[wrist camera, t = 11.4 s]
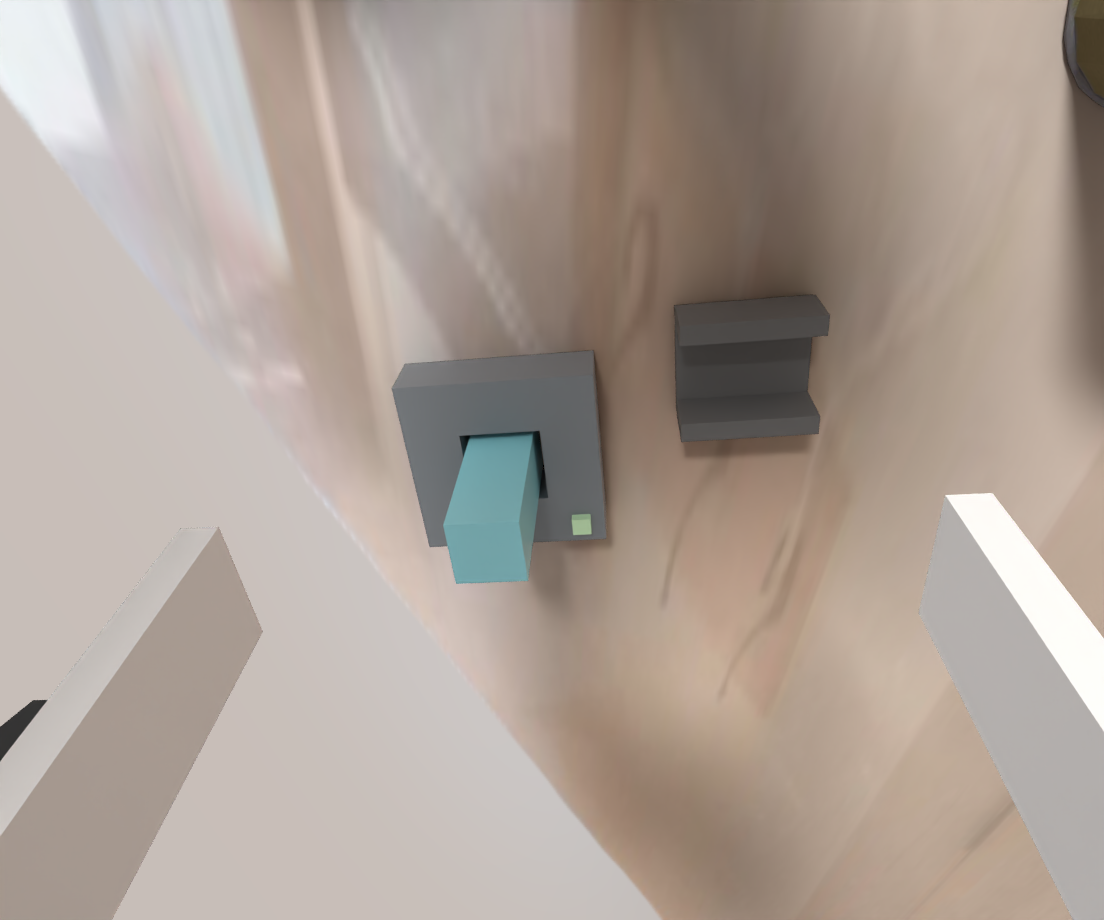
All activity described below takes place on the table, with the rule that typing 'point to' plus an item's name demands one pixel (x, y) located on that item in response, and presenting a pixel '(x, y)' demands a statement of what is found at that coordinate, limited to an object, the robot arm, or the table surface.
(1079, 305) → the table surface
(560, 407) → the port
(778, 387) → the holster
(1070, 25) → the canister
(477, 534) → the plug
